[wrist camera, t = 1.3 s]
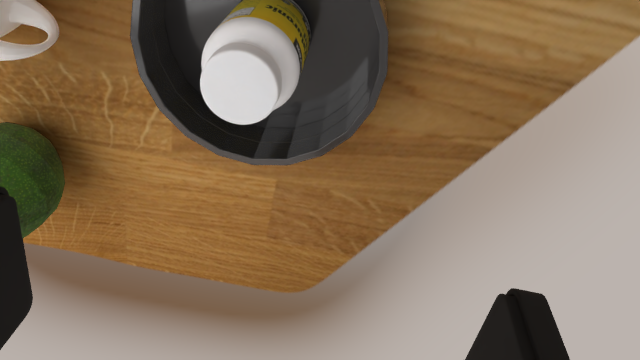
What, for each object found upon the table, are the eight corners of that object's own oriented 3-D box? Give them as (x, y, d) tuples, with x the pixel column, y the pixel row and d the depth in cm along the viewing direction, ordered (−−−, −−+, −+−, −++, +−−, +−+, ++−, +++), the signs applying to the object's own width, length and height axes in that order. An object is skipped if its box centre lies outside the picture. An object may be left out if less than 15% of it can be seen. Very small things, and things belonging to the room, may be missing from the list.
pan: (151, 97, 38) (123, 129, 34) (174, -134, 30) (141, -130, 25) (347, 153, 39) (343, 190, 35) (421, -55, 31) (428, -39, 27)
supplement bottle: (326, 51, 34) (311, 115, 26) (256, 83, 36) (222, 153, 28) (287, -27, 32) (256, 16, 24) (214, 12, 33) (162, 65, 25)
